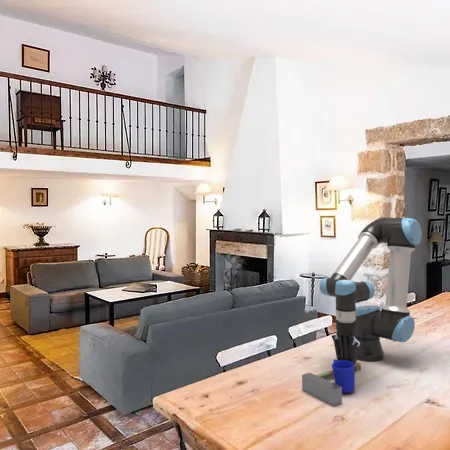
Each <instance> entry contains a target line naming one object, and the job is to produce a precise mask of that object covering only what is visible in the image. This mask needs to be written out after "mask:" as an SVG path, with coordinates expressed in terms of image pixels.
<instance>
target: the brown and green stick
mask: <svg viewBox="0 0 450 450" xmlns="http://www.w3.org/2000/svg"><path fill="white" fill-rule="evenodd" d="M361 370H362V365H361V363H359V362H356V364H354V371H355V372H359V371H361ZM316 375H317V376H319V377H321V378H323V379H325V380H328V381H331V380H333V379H334V374H333V369H331V370H328V371H324V372H321V373H318V374H316Z"/></svg>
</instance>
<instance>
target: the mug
mask: <svg viewBox="0 0 450 450" xmlns="http://www.w3.org/2000/svg"><path fill="white" fill-rule="evenodd" d="M331 370H333V374H334V384H337V385H339V386H341V387H342V394H348V393H349V394H351V393H352V392H354V391H355V388H356V385H355V384H356V381H355V380H356V379H355V377H356V375H355V374H356V373H355V371H354V363H353V362H351V361H347V360H340V361H338V360H337V358H336V359H333V362H332V363H331Z"/></svg>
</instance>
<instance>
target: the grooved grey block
mask: <svg viewBox="0 0 450 450" xmlns="http://www.w3.org/2000/svg"><path fill="white" fill-rule="evenodd" d="M301 390H302V391H303V392H305V393H306V394H308V395H311V396H312V397H315V398H316V399H318V400H319V401H322V402H324V403H326V404H328V405H331V406H332V407H336V406H339V405H341V404H343V393H342V387H341V386H339V385H337V384H335V382H332V381H331V380H325V379H323V378H321V377H319V376H317V374H314V373H312V372H307V373H304V374H301Z"/></svg>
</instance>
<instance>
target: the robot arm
mask: <svg viewBox="0 0 450 450" xmlns="http://www.w3.org/2000/svg"><path fill="white" fill-rule="evenodd" d="M422 237H423V232H422V228H421V225H420V223H419V221H418V220H416V219H415V218H410V217H380V218H377V219H375V220H373V221H371V222H370V223H369V224H367V225H366V226H365V227H364V228H363V229H362V230H361V231H360V232H359V234H358V235H357V241H356V242H355V243H354V245H353V246H352V247H351V248H350V250H349V251H348V253H347V254H346V256H344V258H343V259H342V261H341V263H340V264H339V265H338V267H337V268H336V269H335V271H334V272H333V273H332V274H331V276H330V277H324V278H322V279H321V280H320V283H319V290H320V293H321V294H323V295H324V296H327V297H328V296H329V297H333V298H335V320H336V321H335V330H336V334H332V335H331V338H332V341H333V346H334V351H335V356H336V359H337V360H338V361H340V360H347V361H351V362H353V363H354V364H356V363H357V360H358V361H359V360H360V361H365V362H377V361H382V360H384V357H385V353H384V350H383V347H382V344H381V343H382V342H381V338H382V339H385V340H389V341H393V342H397V343H398V342H399V343H406V342H407V341H409V340H410V339H411V337H412V336H413V334H414V331H415V326H416V325H415V324H416V323H415V318H414V317H412V315H411V314H410V313H411V311H410V310H409V308H408V307H407V306H408V295H409V294H408V293H409V282H410V280H409V279H410V271H411V270H410V267H411V256H412V253H413V251H415V250H416V246H418V245H420V244H421V242H422V239H423V238H422ZM380 244H386V247H387V249H388V250H389V258H388V259H389V260H388V273H387V281H386V282H387V285H386V295H385V304H384V305H383V306H382V307H381V308H380V306H379V305H371V304H370V305H360V306H357V305H356V304H358V303H361V302H366V301H367V302H368V301H369V300H371V299H372V298H373V297H374V296H375V294H376V293H375V286H374V285H373V284H372V283H371V282H370V281H366V280H365V281H360V282H359V281H354V280H352V279H353V277H354V276H355V275H356V274H357V271H358V270H360V268H361V267H362V264H364V263H365V260H366V259H367V258H368V256H369V255H370V253H371V252H372V251H373V249H376V248H378V246H379V245H380Z"/></svg>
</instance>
